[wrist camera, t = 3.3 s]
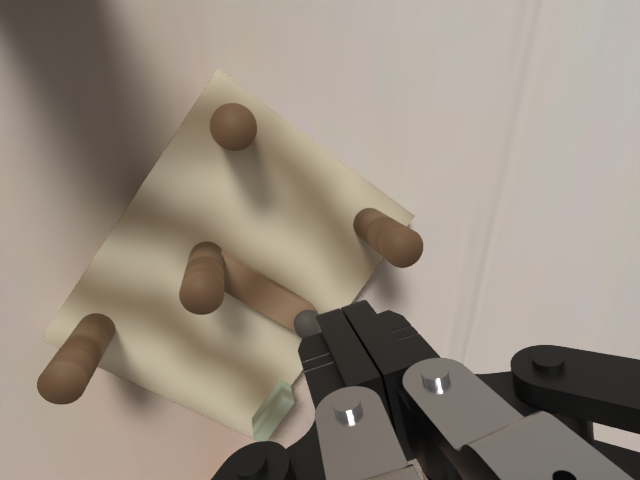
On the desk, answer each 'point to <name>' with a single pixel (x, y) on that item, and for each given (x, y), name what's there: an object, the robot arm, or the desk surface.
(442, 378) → the robot arm
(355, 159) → the desk surface
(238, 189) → the stool frame
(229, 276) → the swing leg
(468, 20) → the desk surface
